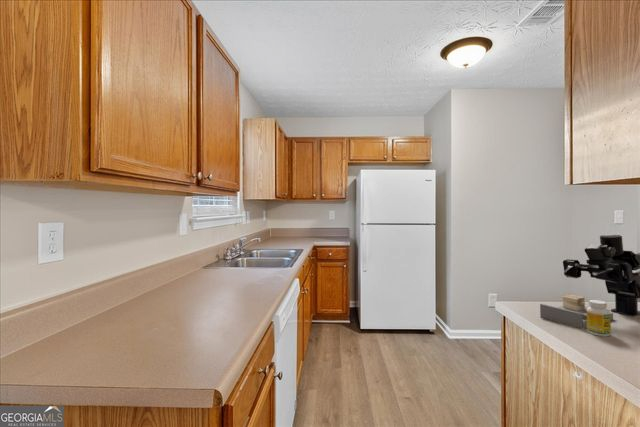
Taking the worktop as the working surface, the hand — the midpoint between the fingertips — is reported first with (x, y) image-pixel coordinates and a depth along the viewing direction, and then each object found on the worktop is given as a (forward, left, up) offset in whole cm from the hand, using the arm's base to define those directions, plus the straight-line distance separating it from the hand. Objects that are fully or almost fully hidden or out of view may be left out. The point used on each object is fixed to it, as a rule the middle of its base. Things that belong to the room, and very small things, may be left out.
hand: (579, 275), depth 103 cm
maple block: (-9, -7, -14) cm, 18 cm away
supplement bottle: (+5, +7, -16) cm, 18 cm away
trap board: (-4, -4, -16) cm, 17 cm away
